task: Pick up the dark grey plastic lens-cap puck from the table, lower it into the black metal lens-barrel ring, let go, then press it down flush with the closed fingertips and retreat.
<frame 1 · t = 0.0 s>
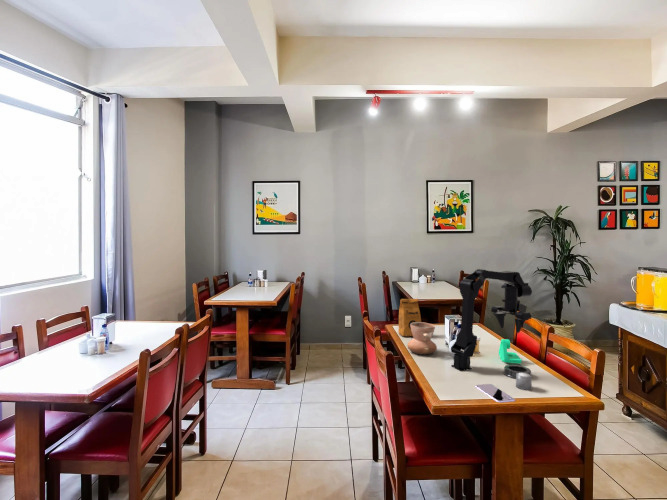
hand: (509, 330, 178), 15 cm above the table, fingers open, 9 cm apart
ceramic jug: (421, 352, 191), on the table
cap: (523, 387, 147), on the table
mobile phone: (494, 394, 141), on the table
camera mount: (509, 361, 179), on the table
coffee package: (409, 335, 222), on the table
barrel: (517, 374, 160), on the table
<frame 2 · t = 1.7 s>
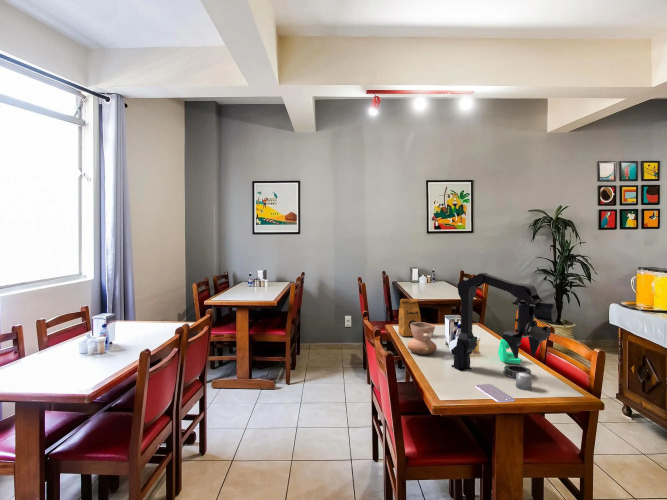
hand: (524, 356, 147), 12 cm above the table, fingers open, 9 cm apart
nothing on the table moved.
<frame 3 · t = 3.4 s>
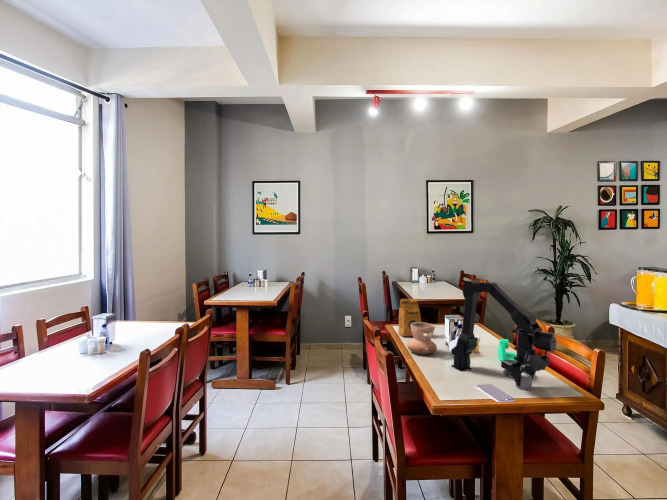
hand: (523, 384, 147), 1 cm above the table, fingers closed on cap, 5 cm apart
cap: (523, 387, 147), on the table, touching gripper
everything else where it was.
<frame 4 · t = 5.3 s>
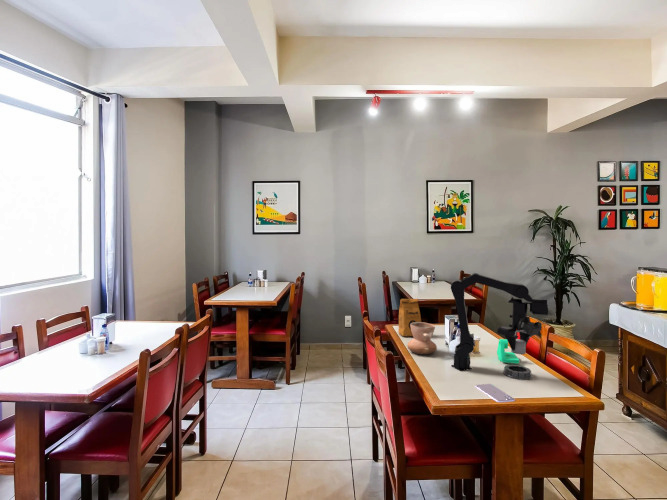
hand: (518, 349, 160), 11 cm above the table, fingers closed on cap, 5 cm apart
cap: (518, 352, 160), point 10 cm above the table, touching gripper
when the fingers open (3 cm above the table, at t = 7.2 s): cap drops 1 cm, resting on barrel.
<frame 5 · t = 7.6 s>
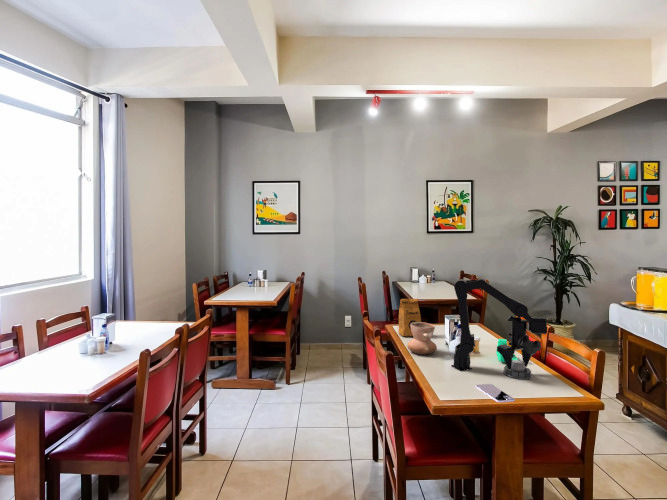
hand: (517, 367, 160), 3 cm above the table, fingers open, 9 cm apart
cap: (517, 373, 160), point 1 cm above the table, touching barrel
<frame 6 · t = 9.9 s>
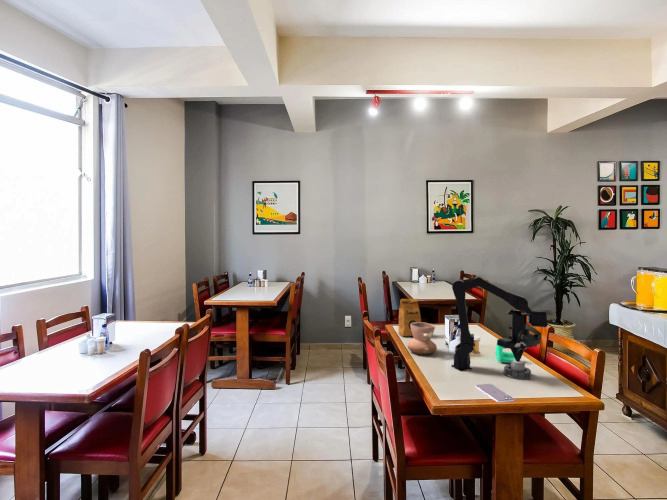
hand: (517, 361, 160), 6 cm above the table, fingers closed
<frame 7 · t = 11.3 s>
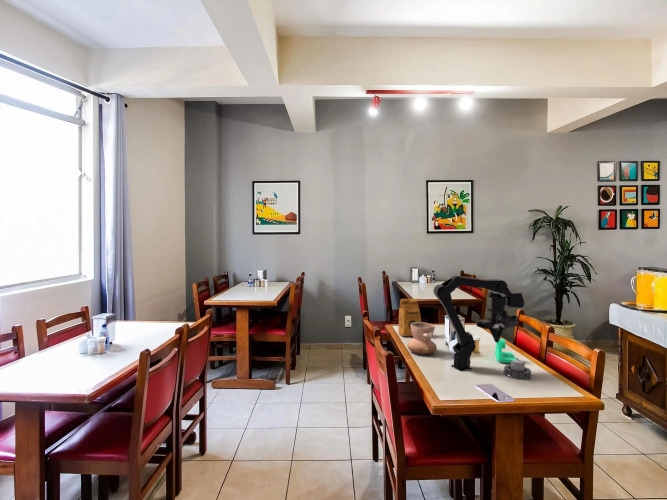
hand: (496, 342, 167), 12 cm above the table, fingers closed
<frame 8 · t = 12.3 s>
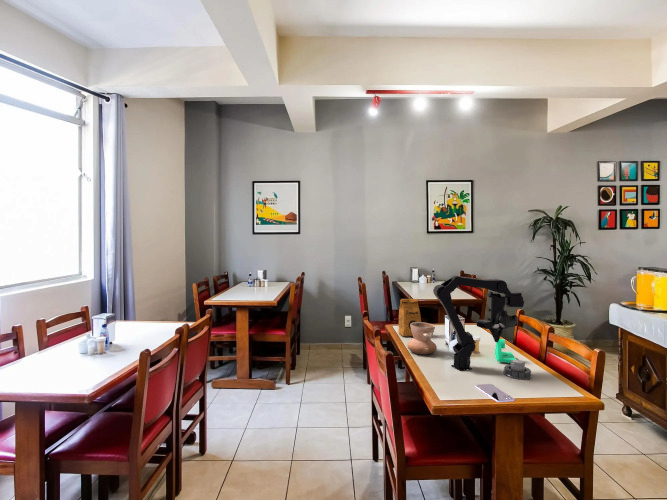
hand: (496, 342, 167), 12 cm above the table, fingers closed
at the end: cap 0.0 cm off-centre on the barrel, point 0.6 cm above the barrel's base; cap tilted 0°; the gripper is holding nothing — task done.
